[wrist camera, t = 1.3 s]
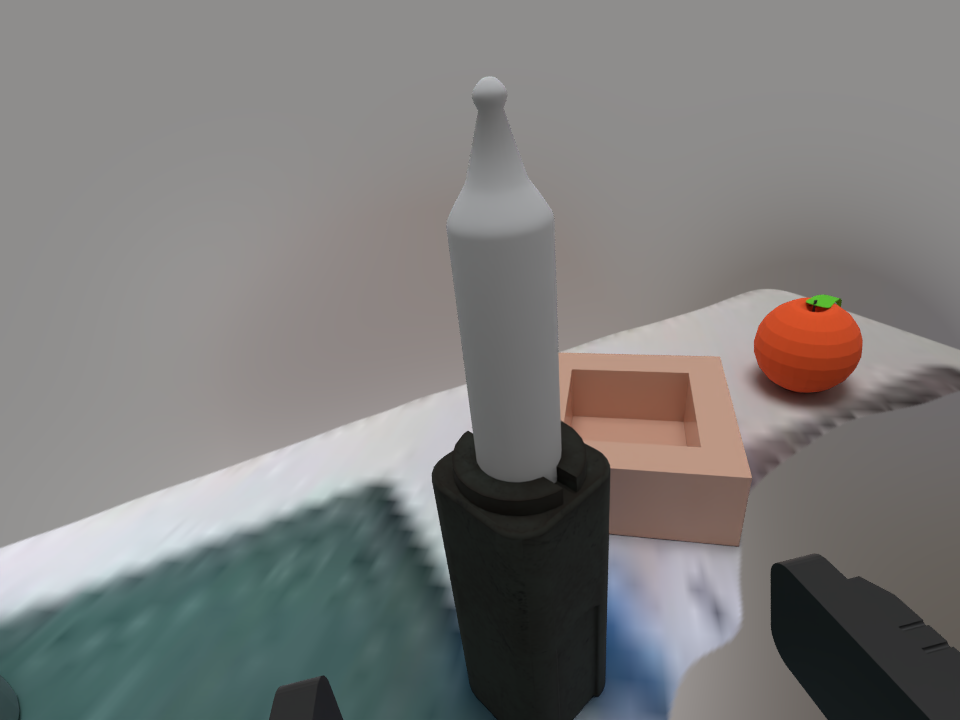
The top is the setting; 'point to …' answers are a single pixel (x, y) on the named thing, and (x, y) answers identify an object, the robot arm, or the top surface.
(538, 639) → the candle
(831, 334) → the clementine
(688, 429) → the holder block
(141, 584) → the top surface
